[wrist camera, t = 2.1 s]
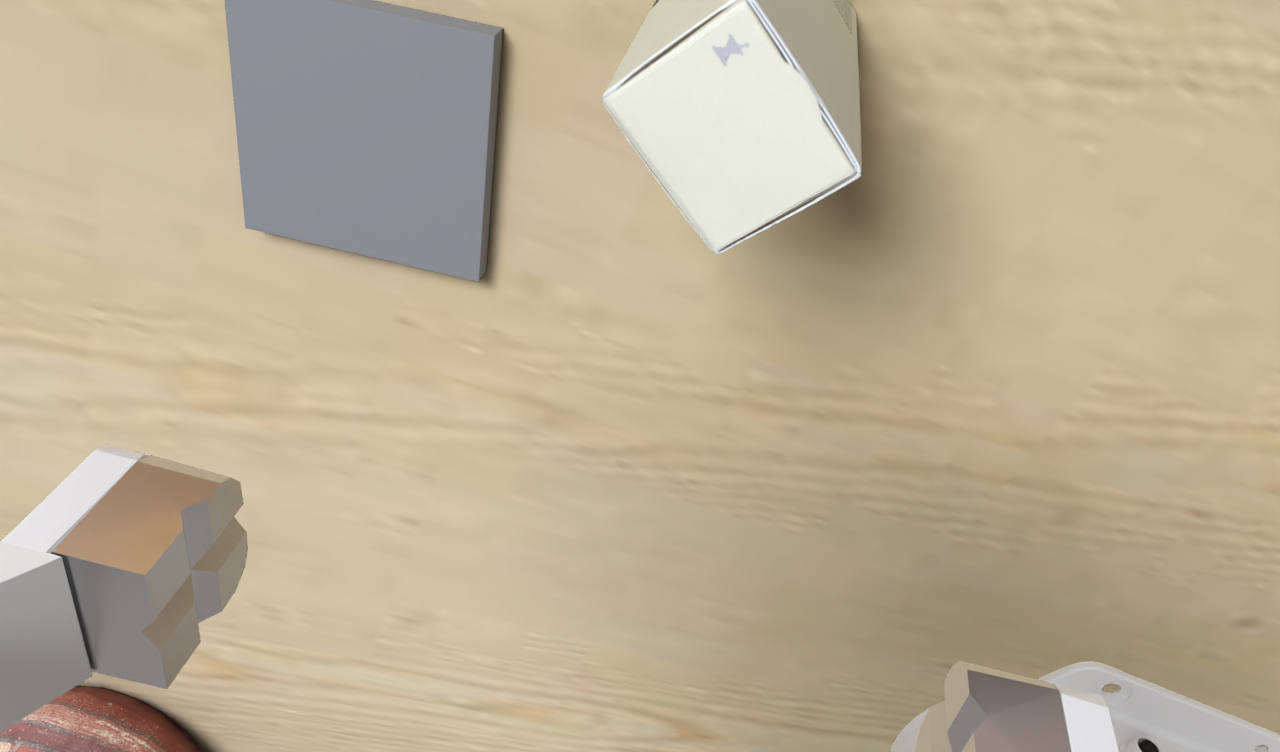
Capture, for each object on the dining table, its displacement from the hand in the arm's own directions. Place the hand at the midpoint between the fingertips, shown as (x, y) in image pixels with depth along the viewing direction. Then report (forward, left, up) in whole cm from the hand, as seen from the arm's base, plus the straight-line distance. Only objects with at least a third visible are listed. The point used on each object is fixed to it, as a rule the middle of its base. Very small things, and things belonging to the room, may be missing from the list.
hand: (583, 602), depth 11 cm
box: (0, 0, -28) cm, 28 cm away
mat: (+14, +8, -27) cm, 32 cm away
